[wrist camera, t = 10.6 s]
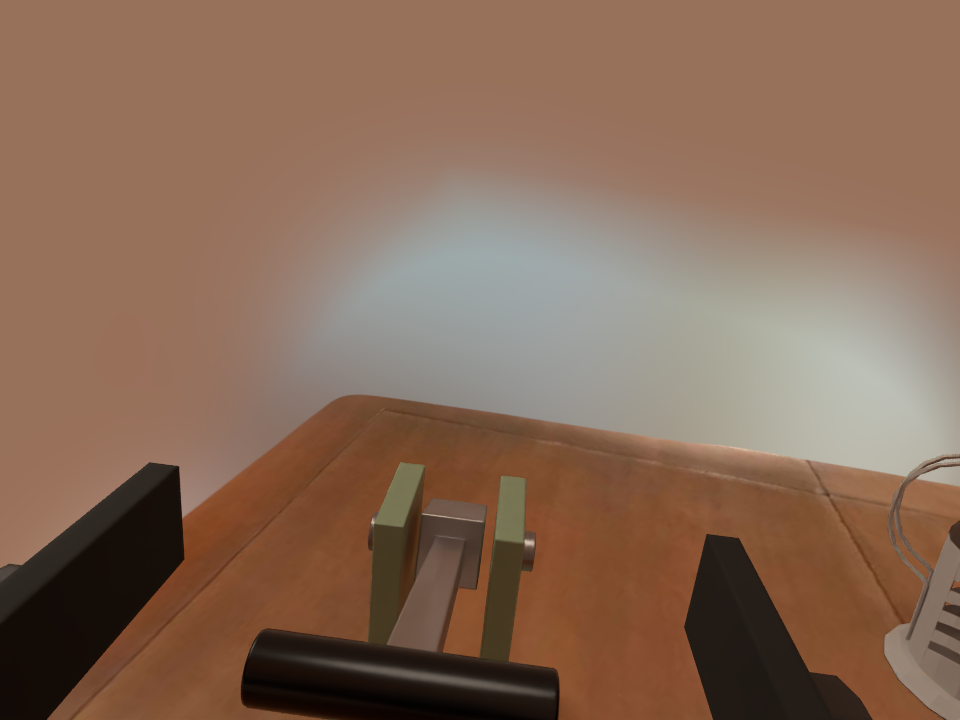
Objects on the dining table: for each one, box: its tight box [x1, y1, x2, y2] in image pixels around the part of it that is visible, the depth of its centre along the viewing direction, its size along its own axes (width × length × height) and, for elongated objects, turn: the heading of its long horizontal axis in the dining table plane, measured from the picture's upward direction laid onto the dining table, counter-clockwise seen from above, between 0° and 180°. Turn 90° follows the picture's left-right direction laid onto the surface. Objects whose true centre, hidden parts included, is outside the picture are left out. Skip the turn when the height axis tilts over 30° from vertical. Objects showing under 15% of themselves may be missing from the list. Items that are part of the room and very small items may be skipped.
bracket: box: [368, 462, 536, 662], centre depth 25 cm, size 12×9×14 cm
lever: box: [241, 498, 560, 720], centre depth 18 cm, size 13×6×2 cm, turn 175°
